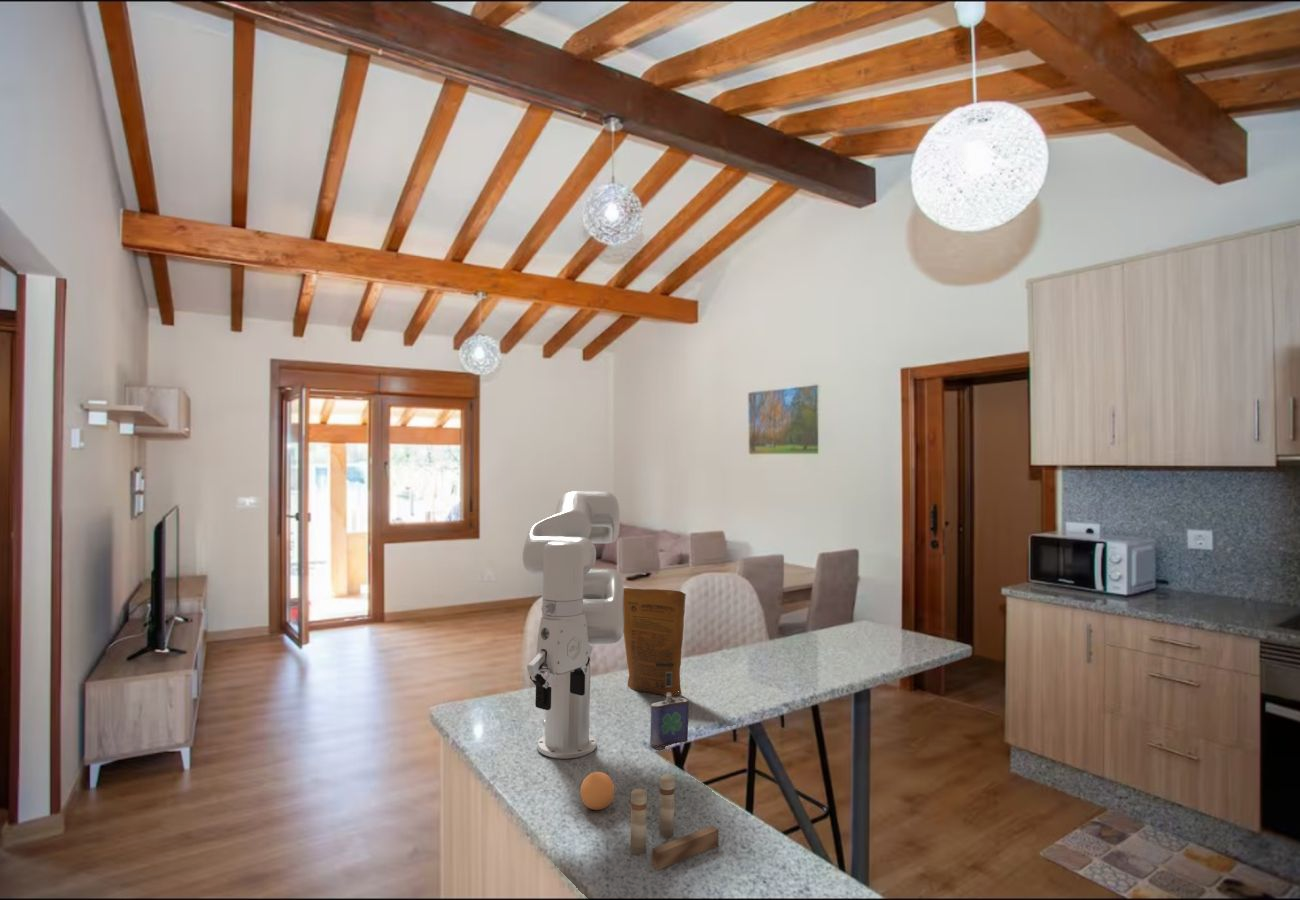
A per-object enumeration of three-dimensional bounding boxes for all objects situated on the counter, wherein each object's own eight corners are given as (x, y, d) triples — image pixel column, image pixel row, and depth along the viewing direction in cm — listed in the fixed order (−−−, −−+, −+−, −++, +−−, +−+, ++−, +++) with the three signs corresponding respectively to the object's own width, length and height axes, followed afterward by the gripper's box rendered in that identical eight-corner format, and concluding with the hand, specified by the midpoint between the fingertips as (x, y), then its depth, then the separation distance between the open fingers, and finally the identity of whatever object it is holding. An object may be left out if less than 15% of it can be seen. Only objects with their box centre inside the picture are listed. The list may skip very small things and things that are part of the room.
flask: (653, 748, 144) (654, 698, 144) (647, 743, 146) (648, 694, 147) (690, 741, 148) (691, 692, 148) (683, 736, 151) (684, 688, 151)
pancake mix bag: (679, 701, 174) (680, 593, 175) (615, 689, 183) (617, 586, 184) (689, 693, 180) (690, 589, 181) (627, 682, 189) (629, 583, 190)
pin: (655, 832, 110) (656, 777, 111) (667, 827, 112) (668, 773, 112) (664, 839, 108) (665, 782, 108) (677, 834, 110) (677, 779, 110)
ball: (573, 805, 119) (574, 771, 119) (602, 796, 122) (603, 763, 122) (591, 820, 114) (591, 784, 114) (620, 810, 117) (621, 775, 117)
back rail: (657, 870, 100) (658, 853, 100) (651, 865, 101) (652, 848, 101) (718, 845, 107) (718, 829, 107) (712, 841, 108) (712, 825, 108)
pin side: (627, 849, 105) (628, 791, 105) (640, 844, 107) (641, 787, 107) (635, 856, 103) (636, 797, 103) (649, 851, 105) (650, 793, 105)
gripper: (547, 618, 115) (544, 719, 114) (606, 603, 130) (604, 692, 129) (515, 612, 119) (512, 710, 118) (576, 598, 134) (574, 685, 133)
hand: (560, 701), depth 124 cm, fingers open, 9 cm apart
